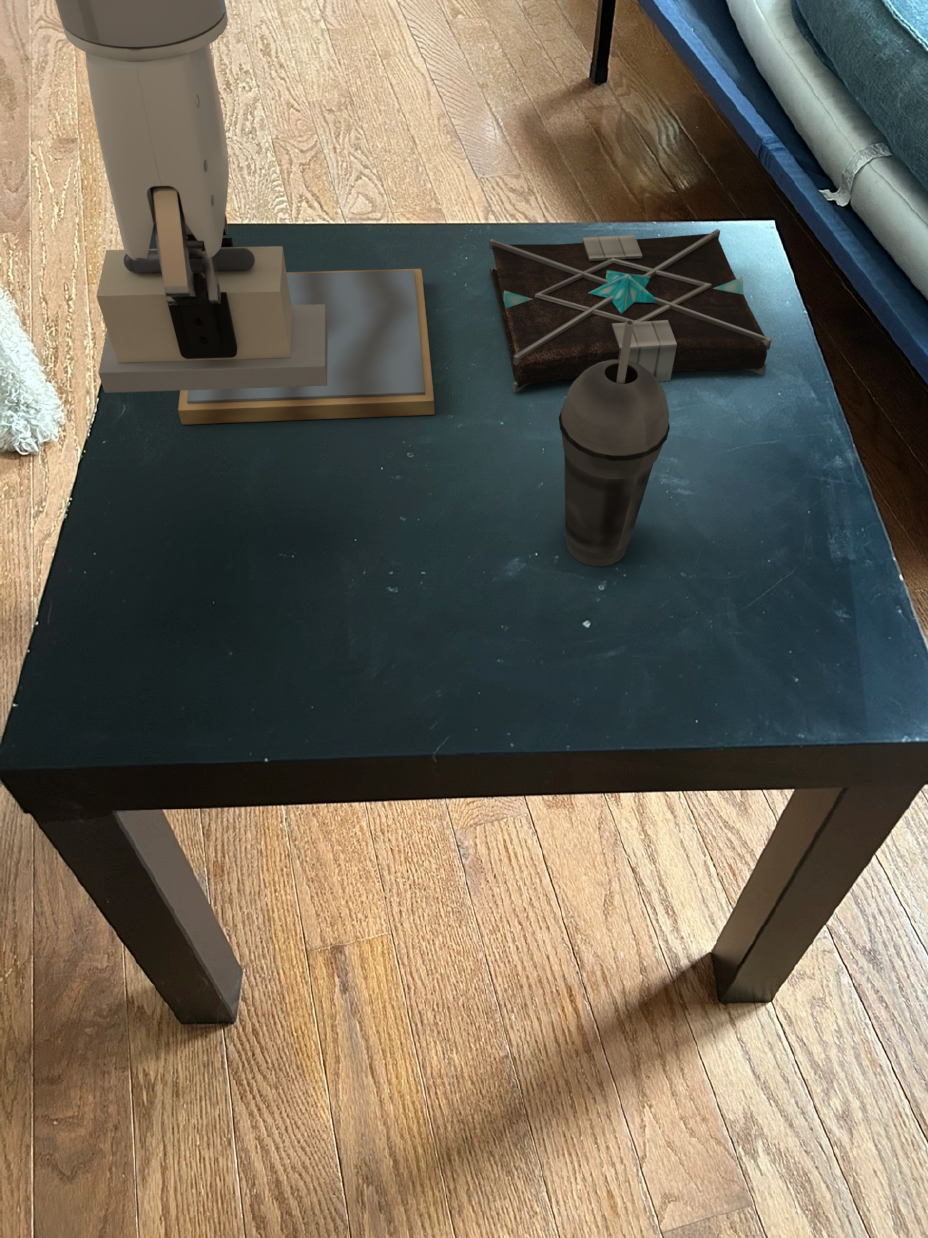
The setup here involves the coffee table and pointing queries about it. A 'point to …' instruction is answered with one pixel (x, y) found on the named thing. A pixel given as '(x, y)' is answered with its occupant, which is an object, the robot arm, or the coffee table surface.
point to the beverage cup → (609, 453)
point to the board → (344, 355)
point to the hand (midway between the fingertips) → (212, 324)
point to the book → (624, 307)
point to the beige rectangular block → (261, 314)
